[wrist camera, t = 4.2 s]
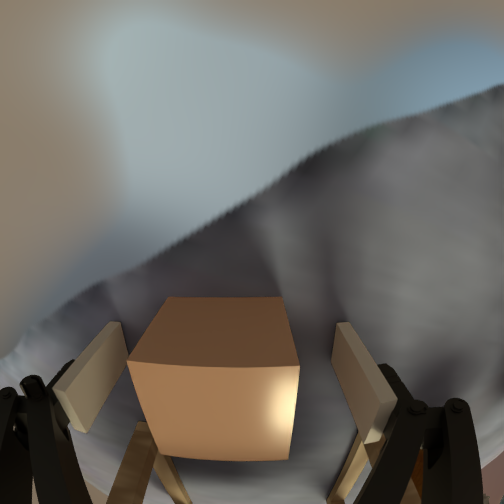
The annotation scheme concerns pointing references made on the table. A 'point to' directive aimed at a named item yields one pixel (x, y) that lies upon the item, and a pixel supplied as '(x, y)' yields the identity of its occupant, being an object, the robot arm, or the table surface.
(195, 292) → the table surface
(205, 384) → the block
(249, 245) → the table surface
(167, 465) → the frame
